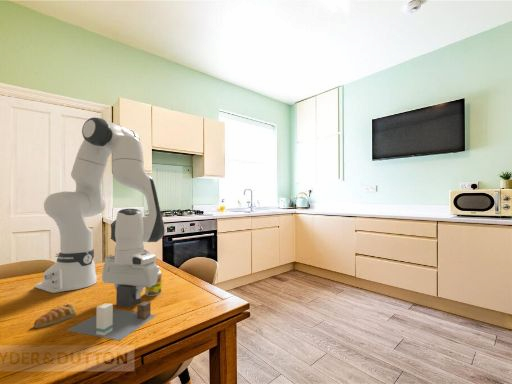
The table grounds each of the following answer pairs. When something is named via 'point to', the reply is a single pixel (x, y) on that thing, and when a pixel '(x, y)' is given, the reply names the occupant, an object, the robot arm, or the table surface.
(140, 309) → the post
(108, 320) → the post
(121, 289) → the dark gray block
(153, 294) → the supplement bottle
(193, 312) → the table surface
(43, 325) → the pastry
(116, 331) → the mat
